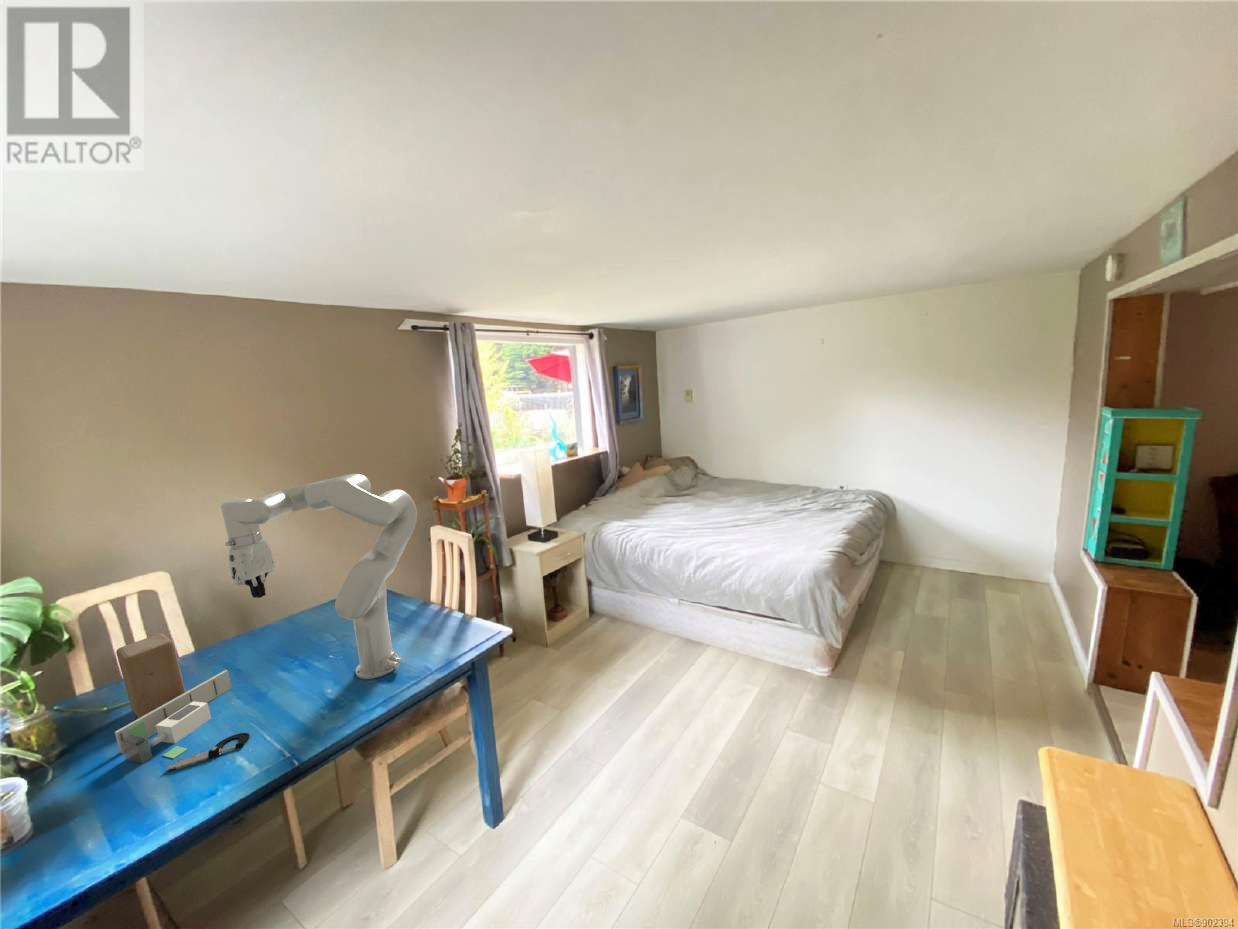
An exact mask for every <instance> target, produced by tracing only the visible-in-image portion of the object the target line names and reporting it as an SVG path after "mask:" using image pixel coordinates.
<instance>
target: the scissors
mask: <svg viewBox="0 0 1238 929" xmlns="http://www.w3.org/2000/svg"><path fill="white" fill-rule="evenodd" d="M249 738H250V734H249V733H248V732H240V733H235V734H233V735H231V736H228V737H226V738H224V739H222V740H221V741H219V742H218V743H217V744H216V745H214V746H213V747H212V748H210V749H209V750H207V751H203V752H200V753H196V754H193V755H190V756H187V757H184V758H181V759H177V760H176V761H175V762H174V763H171V764H168V765H167V766H166V771H167V772H169V771H172V770H175V769H176V771H178V770H181V769H183V768H186V767H190V766H193V765H196V764H199V763H202V762H204V761H207V760H212V759H215V758H217V757H219V756H221V754H222V753H225V752H227V751H231V750H234V749H239V748H242V747H244V746H245V744H246V742H248V740H249ZM236 740H238V742H237V743H235V744H233V745H230V746H227V747H224V746H226V745H227V744H228V743H230V742H231V741H236Z"/></svg>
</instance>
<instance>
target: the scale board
mask: <svg viewBox="0 0 1238 929" xmlns="http://www.w3.org/2000/svg"><path fill="white" fill-rule="evenodd" d="M232 687H233V686H232V683H231V678H230V674H229V670H227V669H225V670H223V671H221V672H219V673H217V674H216V675H214V676H212V677H210V678H209V679H207V680H204V681H203V682H201V683H200V684H198V685H196V686H195V687H193V688H190V689H188V690H186V691H185V693H183V694H182V695H180V696H178V697H176V698H175V699H173V700H171V701H169V702H167V703H166V704H164V705H162V706H160V707H158V708H157V709H155V710H153V711H151V712H149V713H148V714H146V715H144V716H142V717H141V718H137V719H136V720H134V721H131V722H130V723H128V724H126V725H125V726H123V727H121V728H119V729H118V730H115V731H114V736H115V739H116V743H117V745H118V746H117V747H118V748H119V753H120V754H125V752H124V748H123V745H122V741H123V740H122V739H124V738H126V737H128V736H129V735H134V736H138V737H141V738H144V739H146V740H148V739H149V738H151V737H153V736H154V735H156V734H158V733H157V729H156V725H157V724H158V723H160V722H162V721H163V720H165V719H166V718H168V717H169V716H171V715H173V714H174V713H176V712H177V711H179V710H180V709H182V708H184V707H185V706H187V705H188V704H190V703H191V702H193V701H194V702H204V703H209V702H211V701H212V700H214V699H216V698H217V697H220V696H221V695H223V694H224V693H226V692H228V691H229V690H232Z"/></svg>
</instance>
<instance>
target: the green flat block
mask: <svg viewBox="0 0 1238 929" xmlns="http://www.w3.org/2000/svg"><path fill="white" fill-rule="evenodd" d="M187 751H188V748H186V747H182V746H178V745H176V746H174V747H173V748H171V749H169V750H168V751H167V752H165V753H164V754H162V757H166V758H169V759H172V760H174V759H176V758H177V757H179V756H180V755H182V754H183V753H185V752H187Z"/></svg>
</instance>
